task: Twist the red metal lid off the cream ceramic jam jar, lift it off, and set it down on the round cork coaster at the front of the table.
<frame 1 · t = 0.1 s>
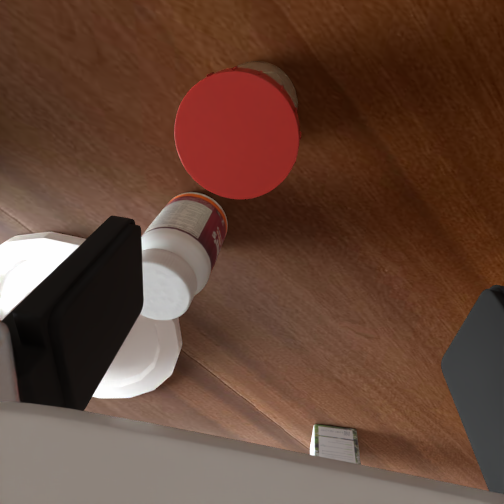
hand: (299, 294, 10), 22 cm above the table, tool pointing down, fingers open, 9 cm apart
jar: (256, 106, 29), on the table
lid: (236, 139, 21), point 10 cm above the table, screwed on, not yet turned
pill bottle: (197, 219, 35), on the table
dish: (82, 321, 44), on the table
syrup box: (332, 435, 50), on the table
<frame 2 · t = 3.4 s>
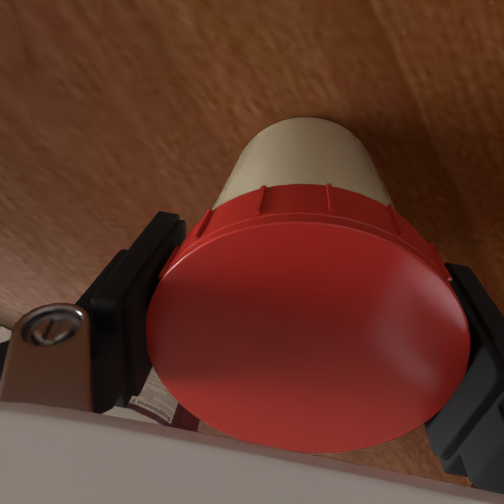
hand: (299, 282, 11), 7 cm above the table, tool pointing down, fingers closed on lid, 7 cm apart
jar: (302, 190, 17), on the table
lid: (297, 351, 8), point 10 cm above the table, screwed on, not yet turned, touching gripper
pill bottle: (173, 326, 22), on the table
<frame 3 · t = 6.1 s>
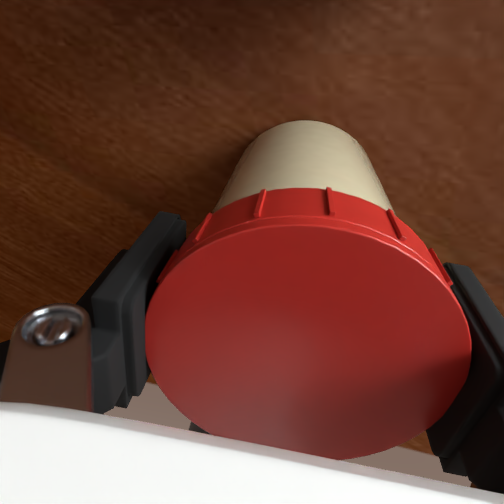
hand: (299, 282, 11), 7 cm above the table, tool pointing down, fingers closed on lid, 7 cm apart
jar: (301, 193, 17), on the table
lid: (297, 356, 8), point 10 cm above the table, off its thread, touching gripper
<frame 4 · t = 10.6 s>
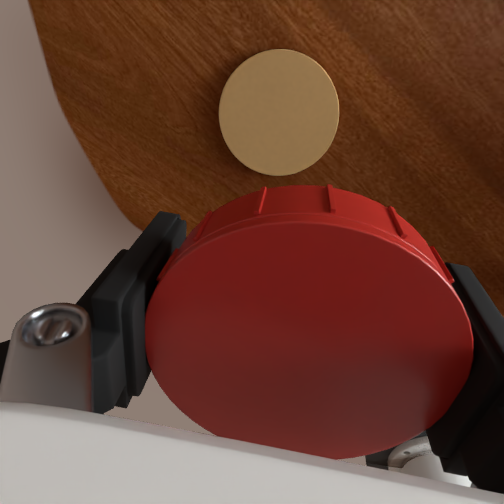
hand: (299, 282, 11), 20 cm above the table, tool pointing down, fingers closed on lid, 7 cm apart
coaster: (278, 116, 28), on the table
lid: (298, 354, 8), point 23 cm above the table, off its thread, touching gripper
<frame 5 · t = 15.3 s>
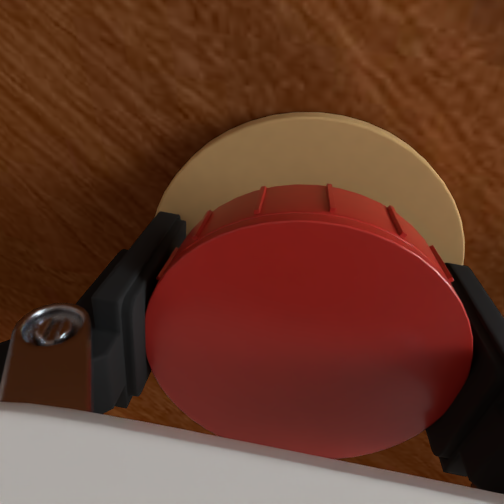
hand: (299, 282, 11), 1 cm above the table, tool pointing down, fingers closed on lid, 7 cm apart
coaster: (298, 264, 11), on the table
lid: (297, 353, 8), point 4 cm above the table, off its thread, touching gripper
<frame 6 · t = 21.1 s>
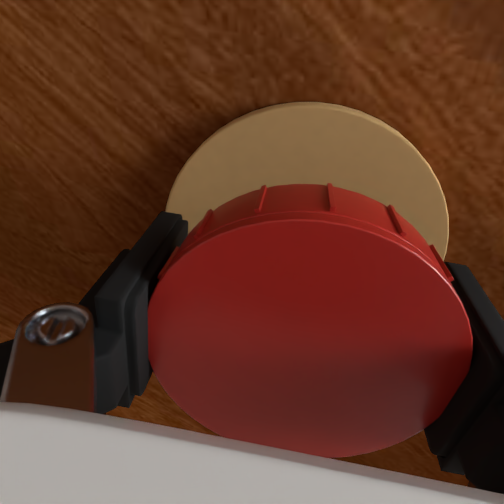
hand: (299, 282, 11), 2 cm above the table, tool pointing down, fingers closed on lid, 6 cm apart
coaster: (299, 243, 12), on the table
lid: (298, 352, 8), point 5 cm above the table, off its thread, touching gripper
when the fingers open (2 cm above the table, at t = 26.5 s): lid drops 3 cm, resting on coaster.
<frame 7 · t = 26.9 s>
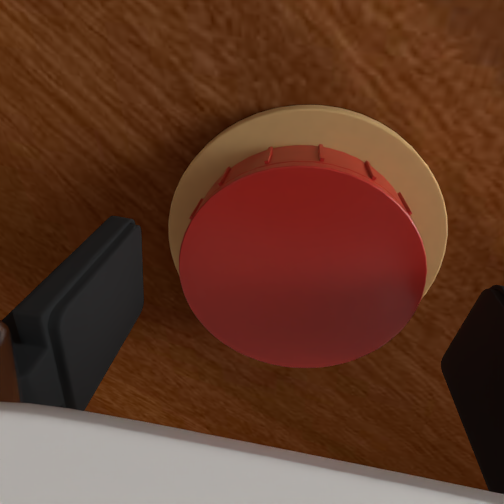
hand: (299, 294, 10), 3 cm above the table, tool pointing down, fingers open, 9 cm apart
coaster: (300, 243, 13), on the table
lid: (297, 277, 11), point 2 cm above the table, off its thread, touching coaster
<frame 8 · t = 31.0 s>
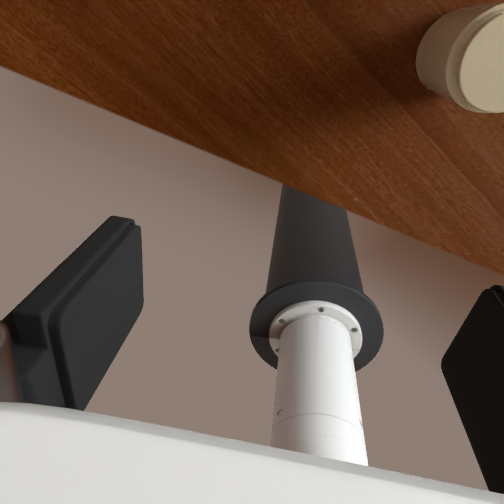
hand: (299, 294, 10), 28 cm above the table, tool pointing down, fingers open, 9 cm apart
jar: (456, 53, 30), on the table
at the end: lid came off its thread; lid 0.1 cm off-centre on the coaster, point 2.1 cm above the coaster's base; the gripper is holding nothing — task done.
